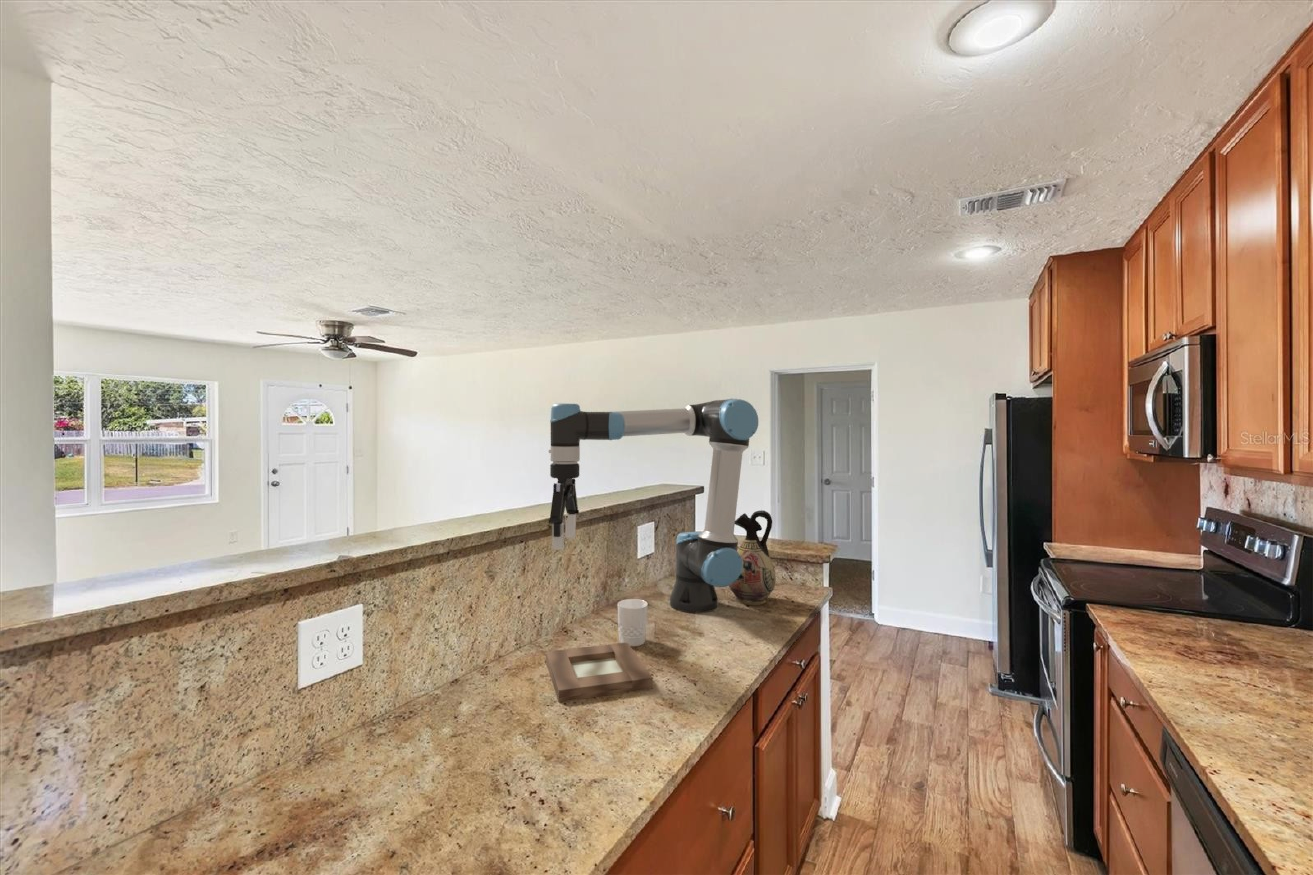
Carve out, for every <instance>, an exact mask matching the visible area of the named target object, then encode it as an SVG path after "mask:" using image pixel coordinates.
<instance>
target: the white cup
mask: <svg viewBox="0 0 1313 875" xmlns="http://www.w3.org/2000/svg"><path fill="white" fill-rule="evenodd" d="M648 608H649V604H648V602H647V601H646V600H643V599H638V598H627V599H622V600H620V601H618V602H617V626H618V628H617V630H618V642H619V643H626V642H627V643H628V644H629V645H630V647H631V648H633V647H640V646H641V645H642V646H643V645H644V643H645V642H646V632H647V622H648Z"/></svg>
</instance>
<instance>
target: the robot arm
mask: <svg viewBox="0 0 1313 875" xmlns="http://www.w3.org/2000/svg"><path fill="white" fill-rule="evenodd" d="M550 409H551V410H550V420H549V422H550V449H549V450H548V453H549V454H550V461H551V462H552V463H551V464H550V465H549V467H550V469H549V470H550V474H549V476H550V477H551V479H557V482H556V483H553V486H552V488H553V489H552V490H553V493H552V501H551V506H550V515H549V519H548V524H549V525H551V524H552V525H551V537H552V538H551V549H552V550H556V551H557V550H559V551H560V550H565V549H564V547H565V545H564V544H565V542H564V538H565V539H576V537H577V535H576V534H577V515H579V513H580V510H579V508H578V498H577V491H576V490H577V489H576V479H577V478H579V477H580V464H579V463H578V462H580V461H581V460H580V459H581V458H580V455H581V454H580V452H581V450H580V449H581V448H580V441H581V440H582V441H586V440H589V441H591V440H592V441H613V440H617V441H619V440H620V439H622V438H623V437H634V436H635V437H637V436H652V435H653V436H654V435H671V434H685V435H686V436H689V437H692V436H694V437H695V436H697V437H698V436H699V437H708V444H709V445H710V446H711V448H712V449H713V451H712V456H711V457H712V458H711V466H710V476H709V478H710V479H709V484H708V494H707V503H706V513H705V519H704V520H705V522H704V530H703V531H687V532H680V533H678V535H677V536H676V543H675V546H676V550H675V552H676V555H675V557H676V558H675V562H676V564H675V581H674V585H673V588H672V589H671V590H672V591H671V593H670V596H669V606H671V608H673V609H675V610H677V611H682V612H686V613H687V612H688V613H707V612H711V611H715V610H717V608H718V607H719V598H718V595H717V594H718V593H717V591H716V588H726V587H729V585H731V584H732V583H733V582H734V581H736V580H737V579H738V577H739V576H740V574H741V571H742V567H743V562H742V558H741V556H740V554H739V553H738V552H737V549H738V548H739V547H738V546H739V545H738V544H739V540H738V538H737V536H736V535H735V533H734V532H735V520H736V515H737V506H738V498H739V489H740V487H739V486H740V479H741V469H742V460H743V453H744V452H745V451H746V450H747V449H749V447H750V438H752V437H753V435H755V434H756V433H757V430H758V428H759V416H758V413H757V410H756V409H755V408H754V406H753V404H751V403H750V402H749V401H747V400H745V399H741V398H740V399H738V398H729V399H728V398H727V399H717V400H711V401H707V402H702V403H698V404H697V403H696V404H686V405H685V406H684V407H683V408H668V409H667V408H665V409H664V408H663V409H661V408H660V409H641V410H639V409H638V410H620V411H619V410H618V411H582V410H581V407H580V405H579V404H578V403H555V404H554V403H553V405H552V406H551V408H550ZM565 511H566V512H565ZM565 513H566V514H565ZM564 515H565V517H566V516H568V518H567V520H566V519H565V524H564V523H563V522H564V521H563V520H564ZM564 525H565V531H564ZM564 532H565V535H564ZM564 536H565V537H564ZM715 587H716V588H715Z"/></svg>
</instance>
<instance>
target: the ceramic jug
mask: <svg viewBox="0 0 1313 875" xmlns="http://www.w3.org/2000/svg"><path fill="white" fill-rule="evenodd" d="M759 517H760V518H762V519H763V518H764V519H765V520H766V527H765V531H764V534H763V536H762V538H761V540H760V538H759V536H758V531H759V532H760V531H763V528H762V525H761V524H760V523H759V521H757V520H756V519H757V518H759ZM735 525H736V526H739V527H740V528H743V529H744V530H745V531H746V534H745V537H744V540H743V542H742V543H741V544H740V545H739V547H737V552H738V553H739V554H740V556H741V558H742V562H743V567H742V571H741V574H740V576H739V577H738V579H737V580H736V581H734V582H733V583H732V584H731V585H729V586H728V587H729V588H730V590H731V592H732V593H733V595H734V596H735V597H736V598H735V599H736V601H737V602H738V603H739V604H742V605H748V606H759V605H763V604H765V603H767V601H768V600H767V598H768V597H769V596H770V595H771V593H772V592H773V591H774V590H775V586H776V582H777V578H776V577H777V576H776V570H775V566H774V564H773V561H772V559H771V557H770V554H769V549H768V544H767V541H768V539H769V536H770V533H771V530H772V527H773V518H772V516H771V514H770V513H769V512H768V511H766V510H761V509H760V510H757V511H754V512H753V513H752V514H751V516H750V517H749V516H748V515H747V514H746V513H743V514H741V515H740V516H739V517H738V518H737V519H735ZM735 525H734V526H735Z"/></svg>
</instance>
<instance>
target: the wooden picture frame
mask: <svg viewBox="0 0 1313 875" xmlns="http://www.w3.org/2000/svg"><path fill="white" fill-rule="evenodd" d="M545 664H546V667H547V670H548V673H549V677H550V679H551V681H552V682H551V683H552V687H553V689H554V692H555V694H556V695H555V696H556V698H557V701H558V703H563V702H569V701H577V700H583V699H590V698H598V697H604V696H611V695H617V694H626V693H632V692H637V691H638V692H639V691H645V690H646V691H647V690H653V686H654V685H653V678H654V677H653V676H652V675H651V673H650V672H649V671H648V669H647V668H646V666H645V665H644V663H643V662H642V661H641V659H640V658H639V656H637V653H636V652H635V651H634V650H633V647H631V646H630V645H629V644H628V643H627V642H626V643H620V642H619V643H610V644H609V643H608V644H602V645H600V644H599V645H591V646H586V647H583V646H582V647H575V648H567V649H566V648H565V649H558V650H557V649H555V650H550V651H549V650H548V651H545Z"/></svg>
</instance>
